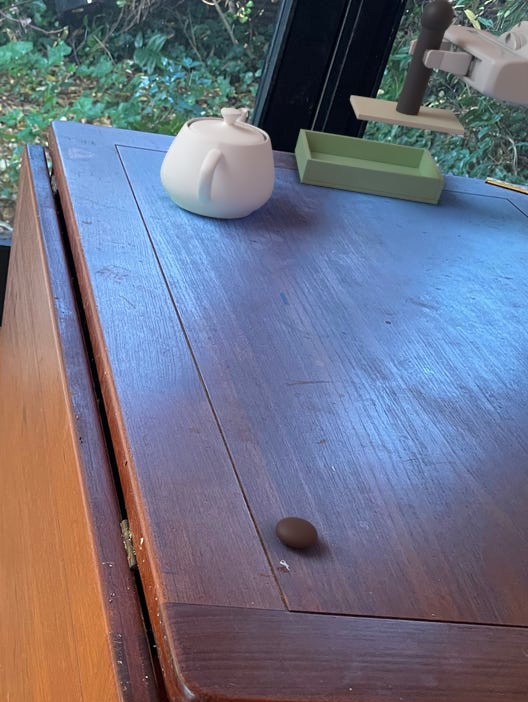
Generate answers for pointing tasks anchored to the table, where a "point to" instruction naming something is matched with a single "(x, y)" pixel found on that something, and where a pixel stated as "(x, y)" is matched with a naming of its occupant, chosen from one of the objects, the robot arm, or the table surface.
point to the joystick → (416, 82)
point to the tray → (368, 166)
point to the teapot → (219, 166)
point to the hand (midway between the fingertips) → (418, 53)
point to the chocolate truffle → (296, 532)
